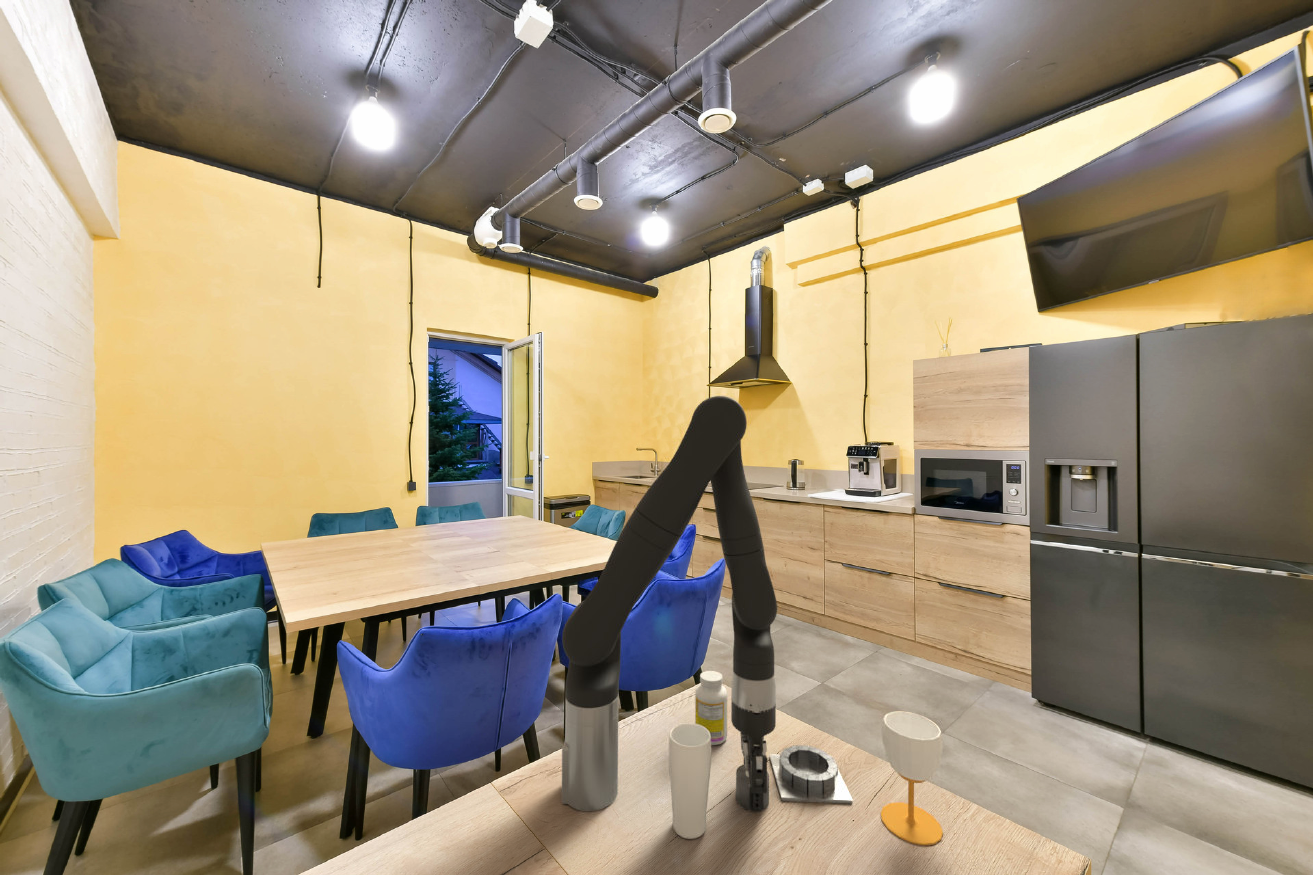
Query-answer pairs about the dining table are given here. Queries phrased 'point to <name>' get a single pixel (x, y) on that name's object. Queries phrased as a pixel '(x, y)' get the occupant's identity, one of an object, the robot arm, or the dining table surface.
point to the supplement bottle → (712, 706)
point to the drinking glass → (689, 778)
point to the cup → (912, 773)
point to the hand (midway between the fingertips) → (753, 792)
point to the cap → (747, 789)
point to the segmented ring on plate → (808, 776)
